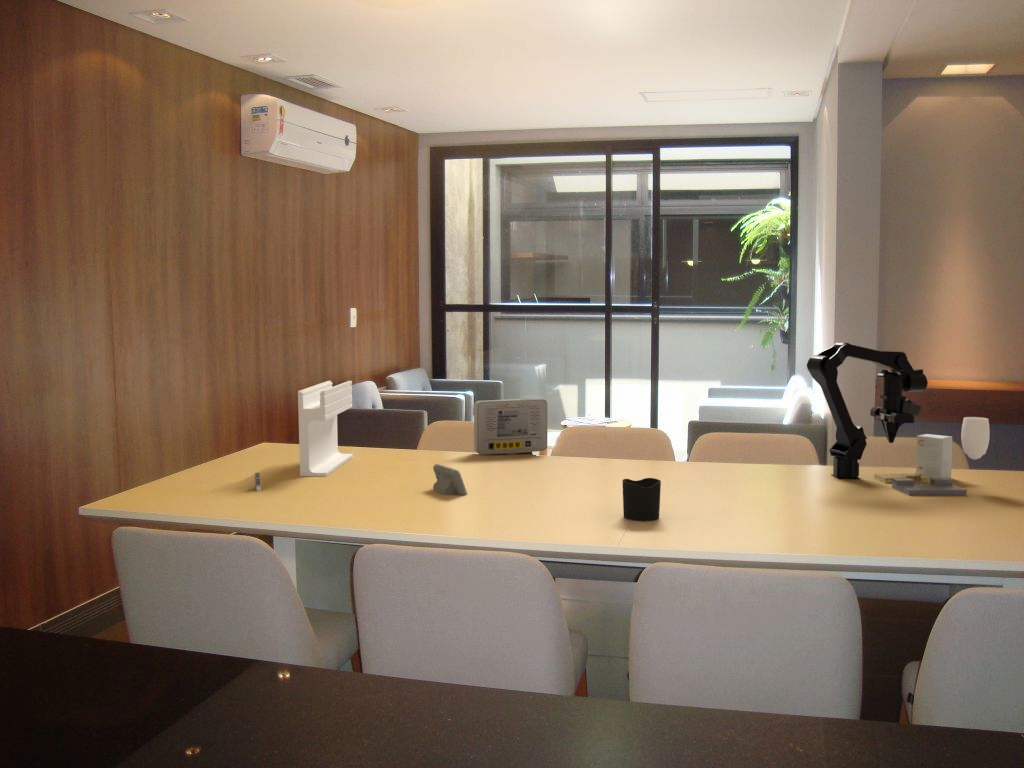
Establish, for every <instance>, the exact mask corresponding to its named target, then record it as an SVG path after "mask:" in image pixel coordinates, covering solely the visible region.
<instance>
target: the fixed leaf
mask: <svg viewBox="0 0 1024 768" xmlns="http://www.w3.org/2000/svg"><path fill="white" fill-rule="evenodd" d="M953 480H954V479H952V478H950V479H949V478H930V483H921V484H916V485H914V480H912V479H910V478H892V483H891V488H893V489H894V490H895V491H899V492H900V493H903V494H905V495H907V496H957V497H958V496H959V497H960V496H967V491H968V490H967V489H966V488H963V487H961V486H958V485H956V484H954V483H953V482H954V481H953Z"/></svg>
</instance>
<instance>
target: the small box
mask: <svg viewBox="0 0 1024 768" xmlns="http://www.w3.org/2000/svg"><path fill="white" fill-rule="evenodd" d="M952 454H953V436H951V435H949V436H948V435H941V434H929V433H925V434H918V435H917V436H916V458H915V461H916V462H915V466H916V467H915V469H916V470H915V473H921V474H924V475H927V476H929V477H932V478H950V479H952V467H953V466H952V465H953V464H952V463H953V461H952V460H953V455H952Z"/></svg>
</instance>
